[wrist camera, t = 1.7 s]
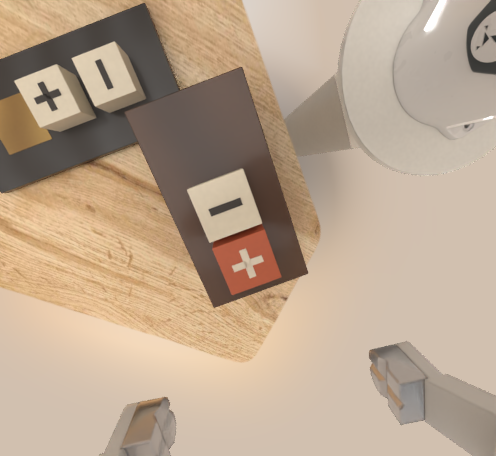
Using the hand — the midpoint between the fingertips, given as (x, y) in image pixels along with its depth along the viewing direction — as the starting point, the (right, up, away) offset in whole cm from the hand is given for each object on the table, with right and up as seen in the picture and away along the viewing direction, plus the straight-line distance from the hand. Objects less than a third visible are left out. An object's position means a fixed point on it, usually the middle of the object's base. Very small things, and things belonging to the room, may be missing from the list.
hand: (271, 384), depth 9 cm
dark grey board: (-21, +20, +18) cm, 34 cm away
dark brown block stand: (-4, +11, +22) cm, 24 cm away
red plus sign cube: (-1, +4, +13) cm, 14 cm away
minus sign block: (-15, +22, +17) cm, 32 cm away
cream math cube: (-21, +20, +17) cm, 33 cm away
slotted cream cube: (-3, +8, +12) cm, 15 cm away
